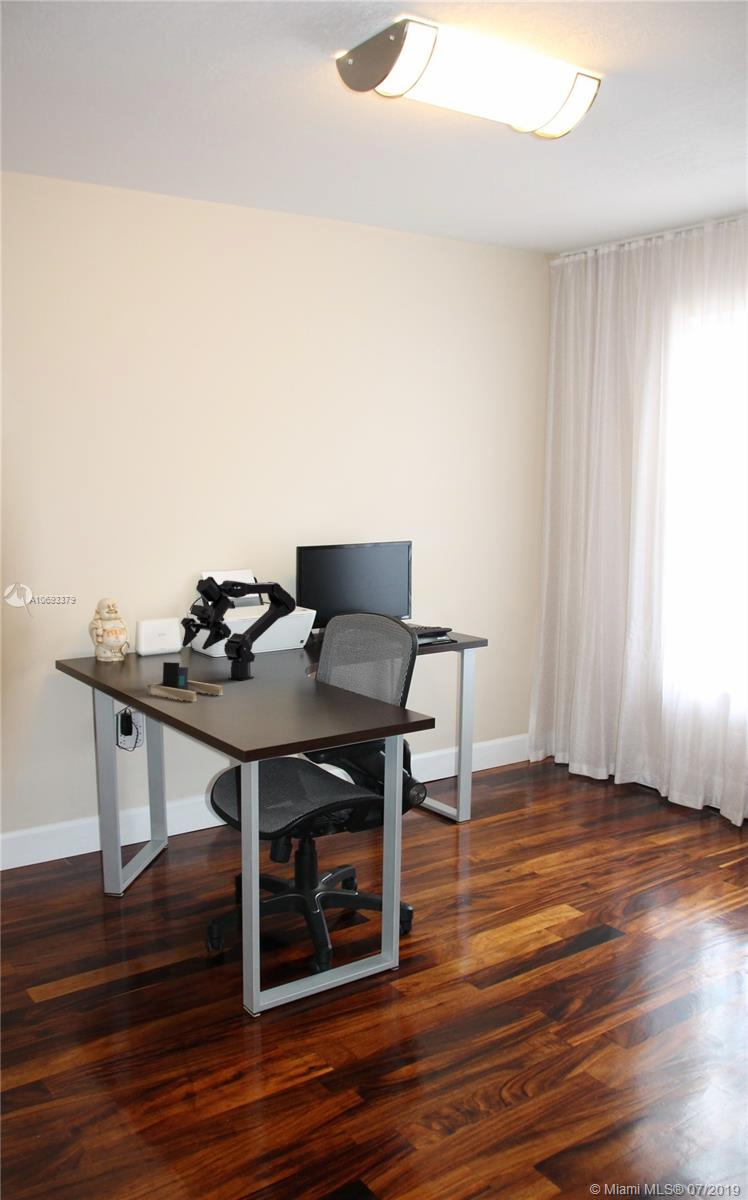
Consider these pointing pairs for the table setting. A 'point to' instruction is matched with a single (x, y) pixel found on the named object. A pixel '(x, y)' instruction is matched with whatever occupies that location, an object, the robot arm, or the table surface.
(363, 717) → the table surface
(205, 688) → the channel
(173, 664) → the dark cylinder with backplate
